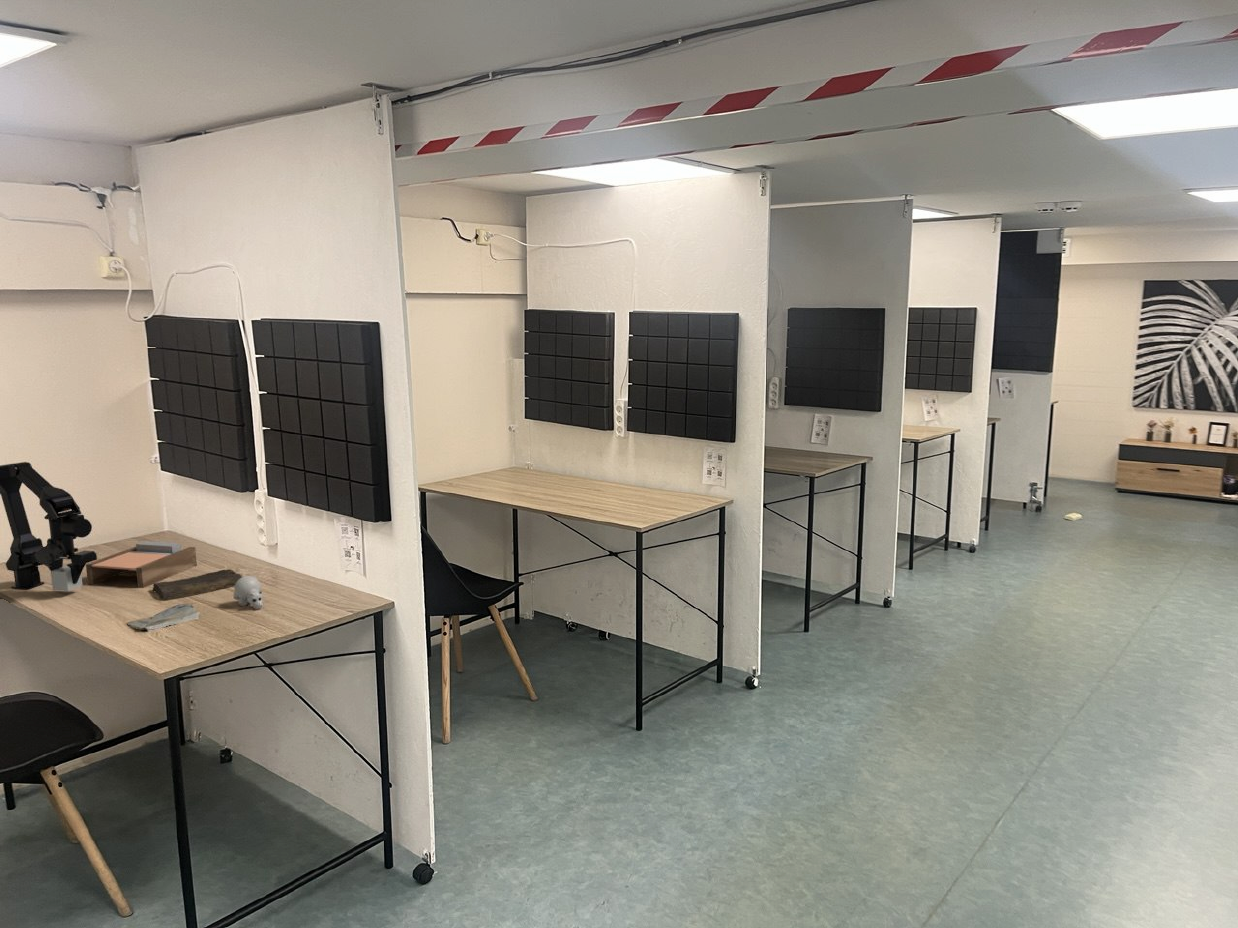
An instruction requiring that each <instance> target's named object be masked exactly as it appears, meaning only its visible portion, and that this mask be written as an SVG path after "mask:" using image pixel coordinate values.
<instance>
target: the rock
mask: <svg viewBox="0 0 1238 928" xmlns="http://www.w3.org/2000/svg"><path fill="white" fill-rule="evenodd" d="M242 577H243V576H242V575H241V573H238V572H236V571H234V570H233V569H231V568H230V569H222V570H221V569H220V570H217V571H213V572H207V573H204V574H201V575H197V576H192V577H188V578H181V579H177V580H176V579H175V580H171V581H170V580H169V581H159V582H156V583H154V584H152V586H153V587H152V591H153V592H155V593H156V594H157V595H158V596H160V597H161V599H162V600H163V601H171V600H173V601H174V600H178V599H182V598H188V597H193V596H198V595H201V594H208V593H210V592H214V591H218V590H221V589H227V588H232V587H235V584H236V582H237V581H238V580H239V579H240V578H242Z"/></svg>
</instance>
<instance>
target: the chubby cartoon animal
mask: <svg viewBox="0 0 1238 928" xmlns="http://www.w3.org/2000/svg"><path fill="white" fill-rule="evenodd" d="M261 589H262V585H261V583H260V581H259V579H258V578H257V577H254V576H252V575H246V576H245V575H244V576H242V578H240V579H239V580H238V581H237V582H236V584H235V586H234V592H233V599H234V600H236V601H237V600H238V603H237V604H238V605H239V606H241V607H245V606H247V605H248V604H250V605H252V607H253V608H254V609H255V610H260V609H262V608H263V607H264V604H263V590H261ZM259 608H260V609H259Z"/></svg>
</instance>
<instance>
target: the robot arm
mask: <svg viewBox="0 0 1238 928" xmlns="http://www.w3.org/2000/svg"><path fill="white" fill-rule="evenodd" d="M22 485H24V486H25V487H26V488H27V489H29V491H31V492H32V493H33V494H34V495H35V496H36V497H37V498H38V499H39V506H40V508H41V509H42V510H43V511H44V512H45V513H46V515H45V516H44V519H45V520H48V525H49V533H50V534H49V535H50V538H46V539H47V540H46V545H45V546H44V545H43V540H42V539H41V538H40V537H39V538H37V537H36V536H34V534H33V533H32V529H31V526H30V523H29V519H28V516H27V513H26V512H27V511H26V510H25V506H24V502H23V498H22V495H21V493H20V491H21V490H20V489H21V487H22ZM0 497H1V499H2V504H3V507H4V511H5V514H6V518H7V521H8V524H9V528H10V531H11V535H12V538H13V539H12V542H11V545H10V547H9V548H10V549H9V550H10V556H9V558H8V559H7V561H6V563H5V566H6V570H7V571H10V572H11V571H12V572H13V577H14V585H11V587H10V588H11V589H19V590H29V589H33V588H35V587H36V588H37V587H39V586H41V585H44V584H45V581H41V575H40V573H41V572H40V571H39V566H43V565H44V566H45V567H47V568H48V569H49V571H50V572H51V571H52V570H55V569H58V568H61V567H64V566H63V564H64V560H70V561H71V562H70V563H67V564H66V566H68V567H69V568H70V569H71V575H72V581H73V584H76V583H77V582H78V580H79V577H80V575H81V576H82V572H83V571H84V568H85V567H86V564H88V563H91V562H94V561H96V560H98V556H97V552H96V551H93V550H81V551H79V548H78V547H75V543H74V540H75V539H77V538H86V537H88V536H89V535H90V534H91V532H92V529H93V525H92V523H91V521H90V520H89V519H87V518H85V514H82V510H81V507H79V504H77V502H76V501H75V499H74V498H73V496H72V494H70V493H69V492H67V491H66V490H64V489H63V488H60V487H56V486H53V485H52V484H51V483H50V482H49V481H48V480H47V479H45V478H44V477H43V476H42V475H41V474H40V473H39V472H38V471H37V470H35V469H34V468H33V466H32V464H31V463H30V462H28V461H23V462H16V463H7V464H2V465H0ZM78 551H79V552H78Z"/></svg>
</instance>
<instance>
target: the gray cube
mask: <svg viewBox="0 0 1238 928" xmlns="http://www.w3.org/2000/svg"><path fill="white" fill-rule="evenodd" d="M82 578H83V577H82V574H81V575H80V577H79V580H78V582H77V583H76V584H73V581H72V575H71V569H70V568H69V567H68V566H67V565H64V566H63V567H61V568H58V569H55V570H52V571H50V579H51V587H52V591H61V592H62V591H63V592H69V591H72V590H74V589H77V588H79V587H83V579H82Z"/></svg>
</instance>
